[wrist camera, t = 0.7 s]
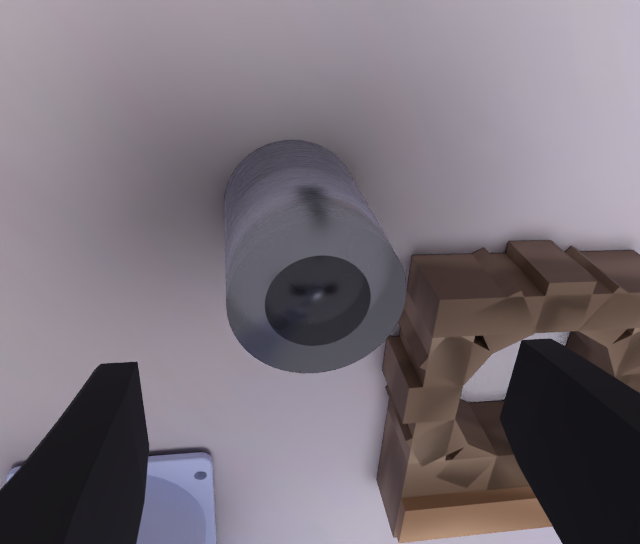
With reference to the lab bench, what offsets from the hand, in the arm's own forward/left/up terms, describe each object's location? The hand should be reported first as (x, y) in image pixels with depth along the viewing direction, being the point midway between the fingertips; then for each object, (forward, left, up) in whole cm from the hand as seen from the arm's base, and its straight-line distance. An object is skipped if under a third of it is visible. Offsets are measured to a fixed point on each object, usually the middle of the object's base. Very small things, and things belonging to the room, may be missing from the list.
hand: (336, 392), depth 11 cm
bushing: (0, 0, -9) cm, 9 cm away
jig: (-8, -9, -9) cm, 15 cm away
